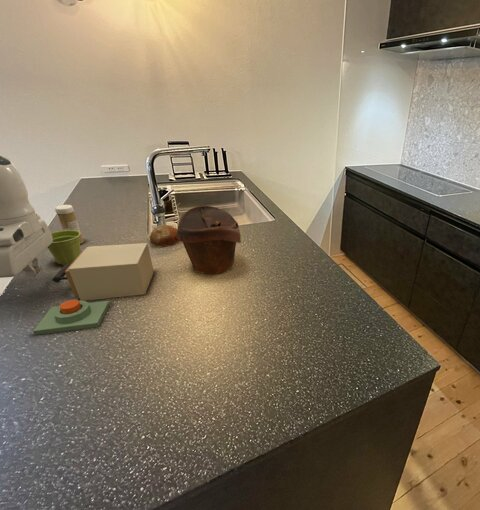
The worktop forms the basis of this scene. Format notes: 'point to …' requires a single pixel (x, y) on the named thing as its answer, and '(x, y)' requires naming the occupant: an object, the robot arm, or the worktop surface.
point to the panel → (72, 318)
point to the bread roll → (164, 236)
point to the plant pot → (65, 246)
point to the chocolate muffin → (209, 238)
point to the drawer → (62, 273)
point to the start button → (70, 306)
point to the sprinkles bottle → (68, 219)
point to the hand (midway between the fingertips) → (34, 274)
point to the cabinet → (112, 271)
